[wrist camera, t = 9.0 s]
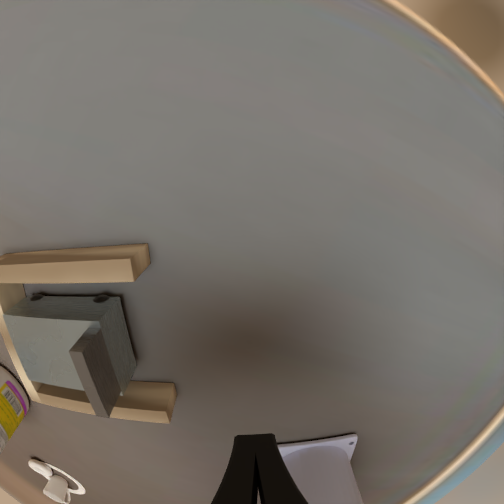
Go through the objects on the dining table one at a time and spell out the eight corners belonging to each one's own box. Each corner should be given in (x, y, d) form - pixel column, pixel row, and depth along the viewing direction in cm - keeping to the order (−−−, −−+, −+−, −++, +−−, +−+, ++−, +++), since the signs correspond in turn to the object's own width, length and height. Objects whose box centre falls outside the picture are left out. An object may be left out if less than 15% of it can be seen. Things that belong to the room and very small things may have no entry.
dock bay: (176, 394, 20) (169, 423, 17) (47, 380, 20) (32, 400, 17) (147, 243, 17) (130, 258, 14) (5, 253, 16) (-20, 266, 14)
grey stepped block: (122, 289, 17) (78, 341, 11) (140, 363, 19) (112, 425, 13) (31, 289, 17) (-21, 328, 11) (52, 354, 19) (14, 401, 13)
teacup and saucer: (25, 450, 24) (14, 469, 20) (68, 464, 24) (58, 487, 20) (53, 483, 26) (45, 501, 23) (95, 496, 27) (88, 517, 23)
